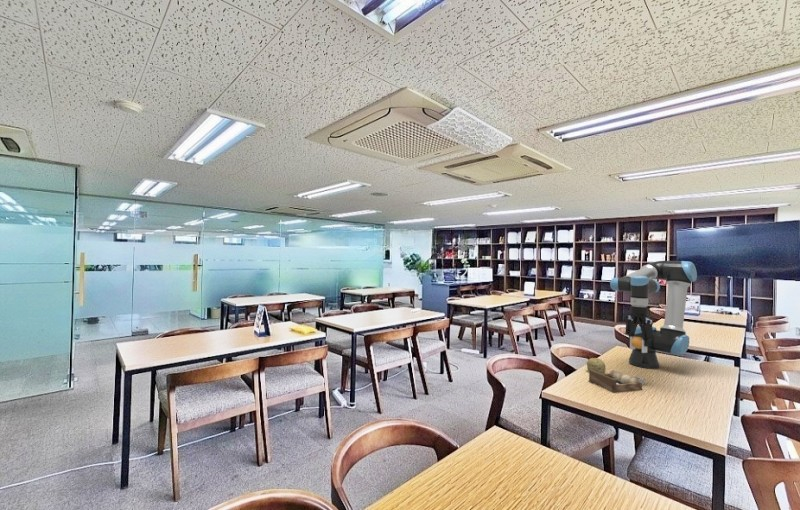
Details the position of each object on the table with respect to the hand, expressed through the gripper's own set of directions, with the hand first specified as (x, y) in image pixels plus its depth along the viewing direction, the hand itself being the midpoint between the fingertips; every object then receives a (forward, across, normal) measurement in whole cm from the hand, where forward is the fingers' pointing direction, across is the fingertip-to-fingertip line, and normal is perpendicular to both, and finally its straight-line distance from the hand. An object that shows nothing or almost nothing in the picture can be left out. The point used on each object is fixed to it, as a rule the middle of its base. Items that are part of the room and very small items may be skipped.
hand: (638, 350), depth 179 cm
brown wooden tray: (+17, 0, -15) cm, 22 cm away
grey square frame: (+17, 0, 0) cm, 17 cm away
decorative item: (+17, -19, -8) cm, 27 cm away
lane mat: (+17, 0, -15) cm, 22 cm away
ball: (-4, 0, 0) cm, 4 cm away
